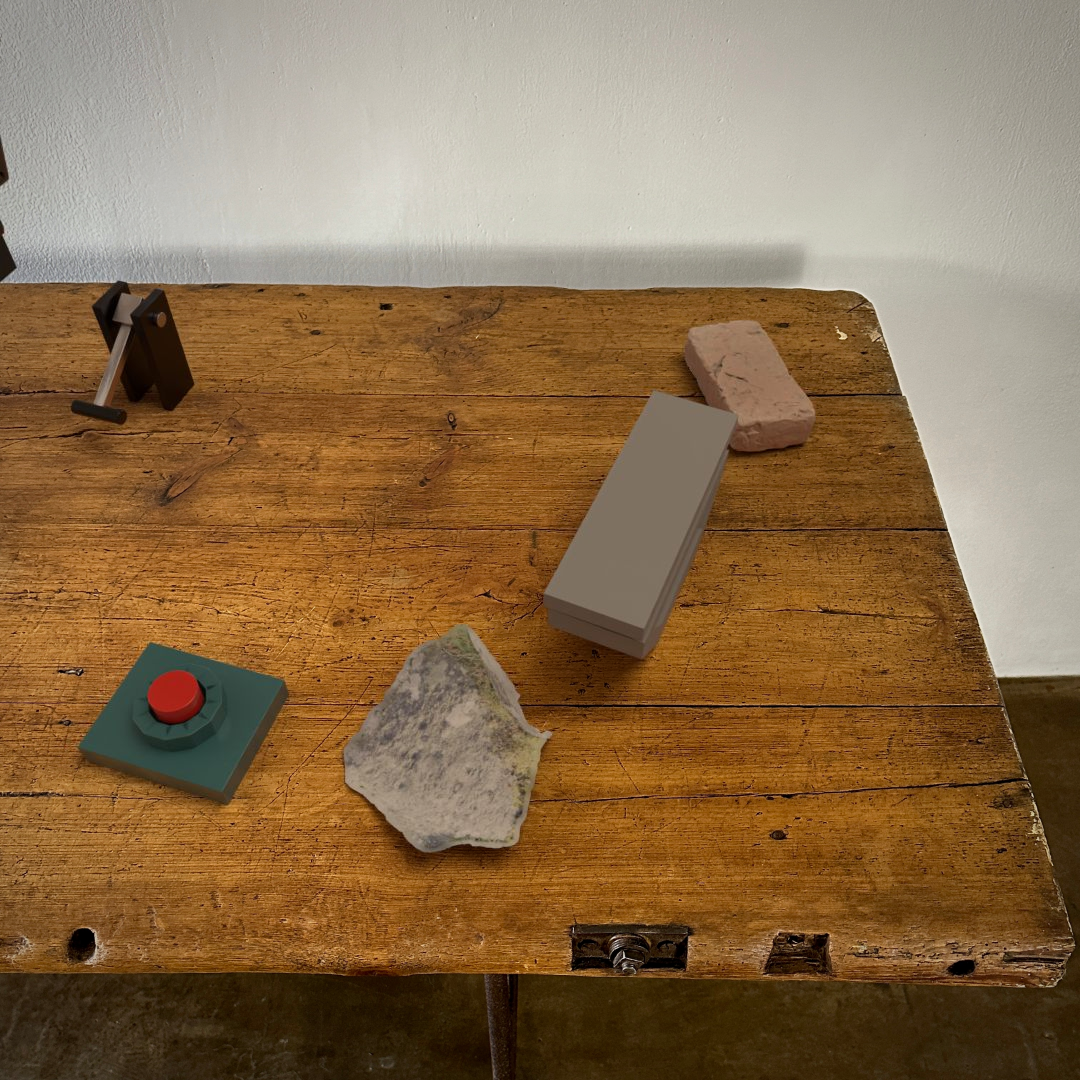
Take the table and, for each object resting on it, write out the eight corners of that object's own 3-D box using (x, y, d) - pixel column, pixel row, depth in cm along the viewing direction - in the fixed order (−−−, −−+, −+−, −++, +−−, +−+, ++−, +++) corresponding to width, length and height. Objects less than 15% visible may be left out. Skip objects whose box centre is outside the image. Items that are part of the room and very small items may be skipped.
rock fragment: (463, 648, 82) (461, 609, 78) (605, 772, 74) (610, 735, 70) (320, 758, 74) (309, 721, 71) (460, 907, 67) (457, 875, 63)
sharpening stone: (641, 475, 95) (653, 390, 87) (718, 499, 93) (738, 414, 85) (540, 673, 80) (543, 593, 72) (630, 707, 78) (644, 628, 70)
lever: (127, 428, 91) (112, 420, 89) (80, 417, 92) (65, 409, 90) (168, 310, 93) (155, 299, 91) (122, 300, 94) (108, 289, 92)
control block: (86, 761, 74) (68, 735, 71) (157, 656, 80) (143, 628, 77) (228, 805, 72) (216, 780, 69) (289, 694, 78) (280, 667, 75)
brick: (679, 356, 107) (684, 321, 103) (750, 346, 108) (758, 311, 105) (732, 461, 97) (740, 426, 93) (810, 448, 98) (821, 413, 94)
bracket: (173, 449, 96) (135, 345, 86) (93, 430, 98) (47, 326, 88) (232, 374, 104) (203, 271, 94) (158, 357, 105) (121, 254, 95)
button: (144, 716, 72) (137, 704, 71) (170, 677, 75) (164, 664, 73) (187, 729, 72) (181, 717, 70) (212, 689, 74) (206, 677, 73)
